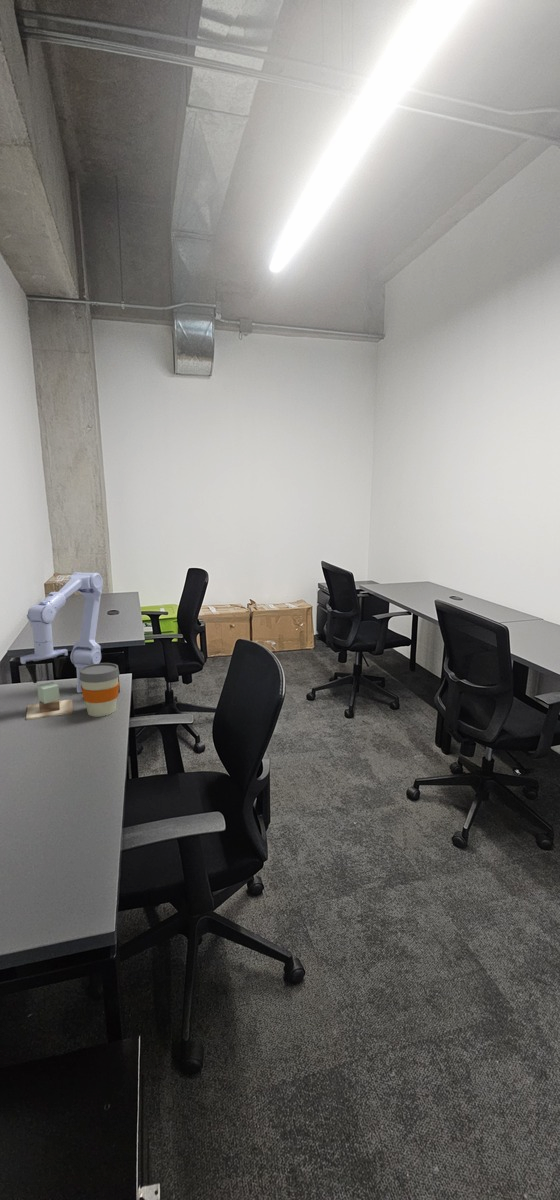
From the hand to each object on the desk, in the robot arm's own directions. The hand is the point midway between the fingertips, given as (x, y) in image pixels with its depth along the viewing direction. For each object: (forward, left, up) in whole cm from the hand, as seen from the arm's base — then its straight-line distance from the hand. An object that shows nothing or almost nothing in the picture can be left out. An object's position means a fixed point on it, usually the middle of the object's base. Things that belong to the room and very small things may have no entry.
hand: (46, 679), depth 170 cm
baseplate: (0, +1, -10) cm, 10 cm away
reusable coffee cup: (-16, +9, -11) cm, 22 cm away
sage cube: (0, +1, -7) cm, 7 cm away
